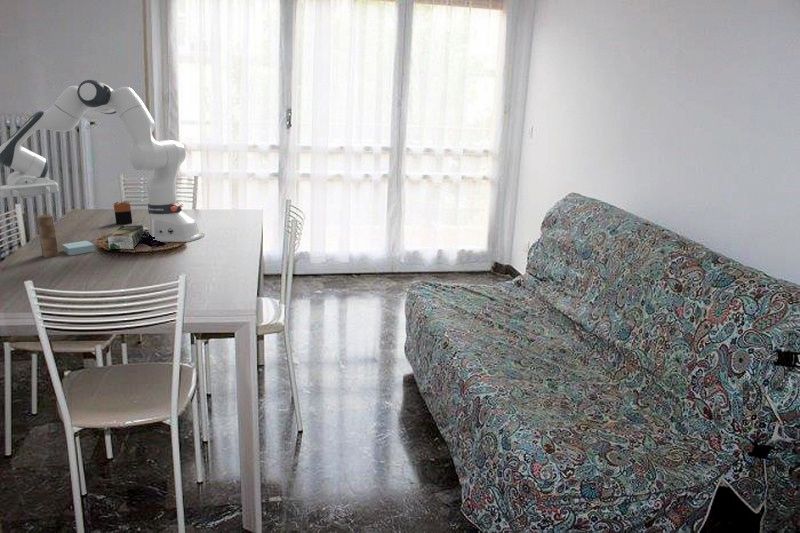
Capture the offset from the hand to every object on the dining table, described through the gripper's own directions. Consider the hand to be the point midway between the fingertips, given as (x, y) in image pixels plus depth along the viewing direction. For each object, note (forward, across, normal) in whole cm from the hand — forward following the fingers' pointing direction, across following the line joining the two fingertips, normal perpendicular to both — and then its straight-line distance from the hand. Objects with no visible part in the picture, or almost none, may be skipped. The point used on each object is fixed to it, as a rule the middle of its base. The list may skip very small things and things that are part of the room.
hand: (33, 192), depth 261 cm
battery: (-26, +40, +23) cm, 52 cm away
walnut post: (+14, 0, +22) cm, 26 cm away
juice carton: (+15, +28, +22) cm, 39 cm away
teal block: (+14, +10, +22) cm, 28 cm away
